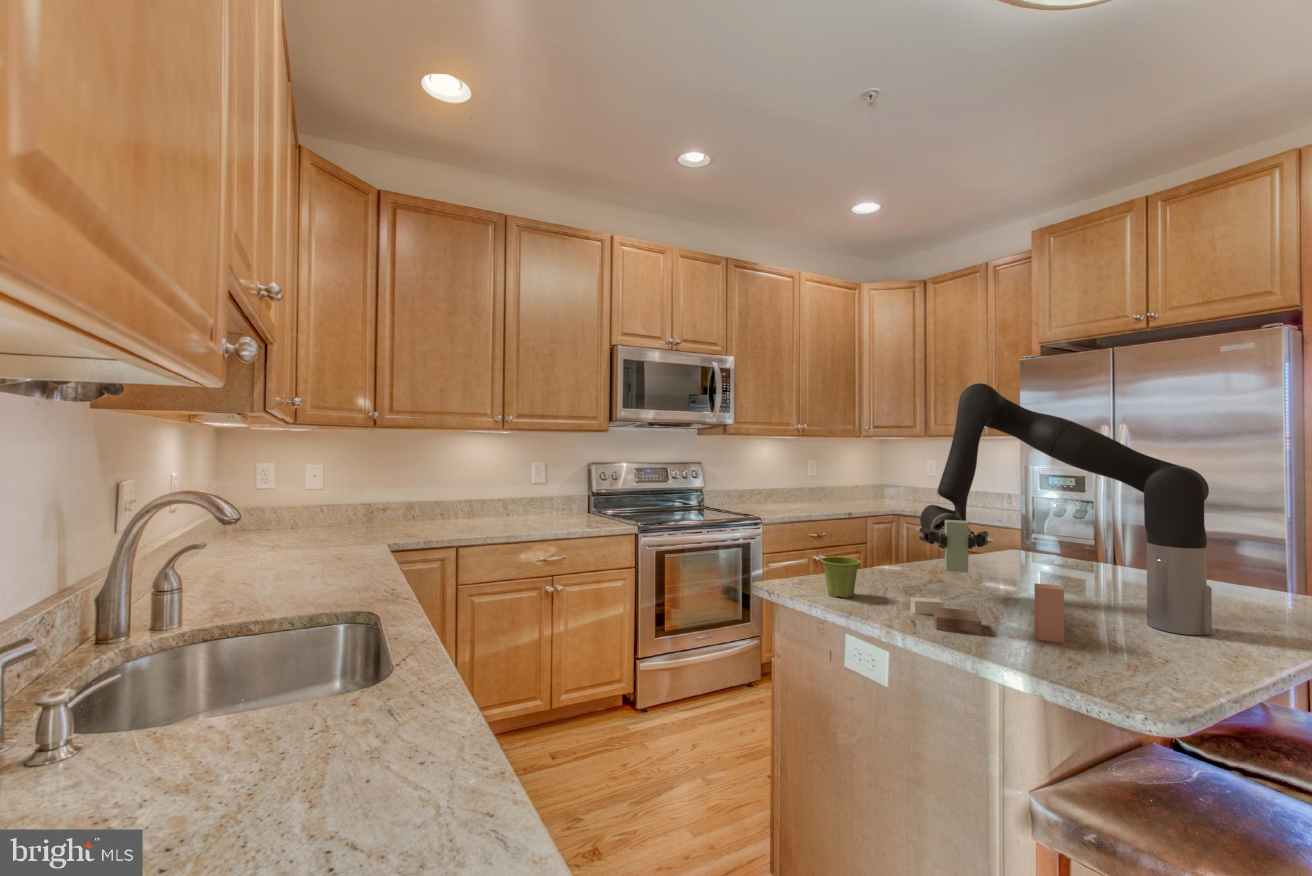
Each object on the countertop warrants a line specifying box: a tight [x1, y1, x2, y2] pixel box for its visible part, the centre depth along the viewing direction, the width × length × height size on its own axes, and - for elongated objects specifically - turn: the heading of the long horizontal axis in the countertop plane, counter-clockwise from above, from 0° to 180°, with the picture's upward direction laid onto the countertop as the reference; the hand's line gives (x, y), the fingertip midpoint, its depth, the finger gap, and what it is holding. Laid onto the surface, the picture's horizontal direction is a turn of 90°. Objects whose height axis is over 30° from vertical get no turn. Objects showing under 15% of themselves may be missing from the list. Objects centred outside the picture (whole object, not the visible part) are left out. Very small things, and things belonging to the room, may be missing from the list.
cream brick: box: [910, 597, 944, 615], centre depth 132 cm, size 6×3×3 cm, turn 83°
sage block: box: [944, 520, 970, 574], centre depth 122 cm, size 4×4×10 cm
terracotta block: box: [1033, 582, 1065, 643], centre depth 115 cm, size 4×4×10 cm
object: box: [820, 556, 861, 599], centre depth 146 cm, size 9×9×9 cm
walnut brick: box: [932, 607, 982, 636], centre depth 122 cm, size 8×8×3 cm
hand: (958, 542), depth 119 cm, fingers closed on sage block, 4 cm apart
